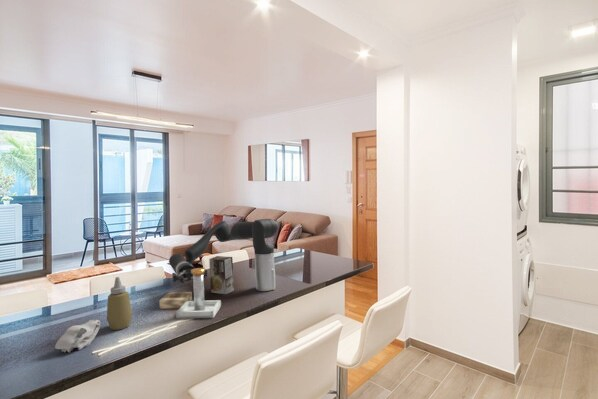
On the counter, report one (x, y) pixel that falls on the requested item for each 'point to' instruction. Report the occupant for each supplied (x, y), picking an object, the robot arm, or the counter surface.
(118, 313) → the squeeze bottle
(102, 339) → the counter surface
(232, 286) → the coffee box
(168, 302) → the socket block
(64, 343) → the skull
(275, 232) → the robot arm
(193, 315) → the tray
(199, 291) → the pin
